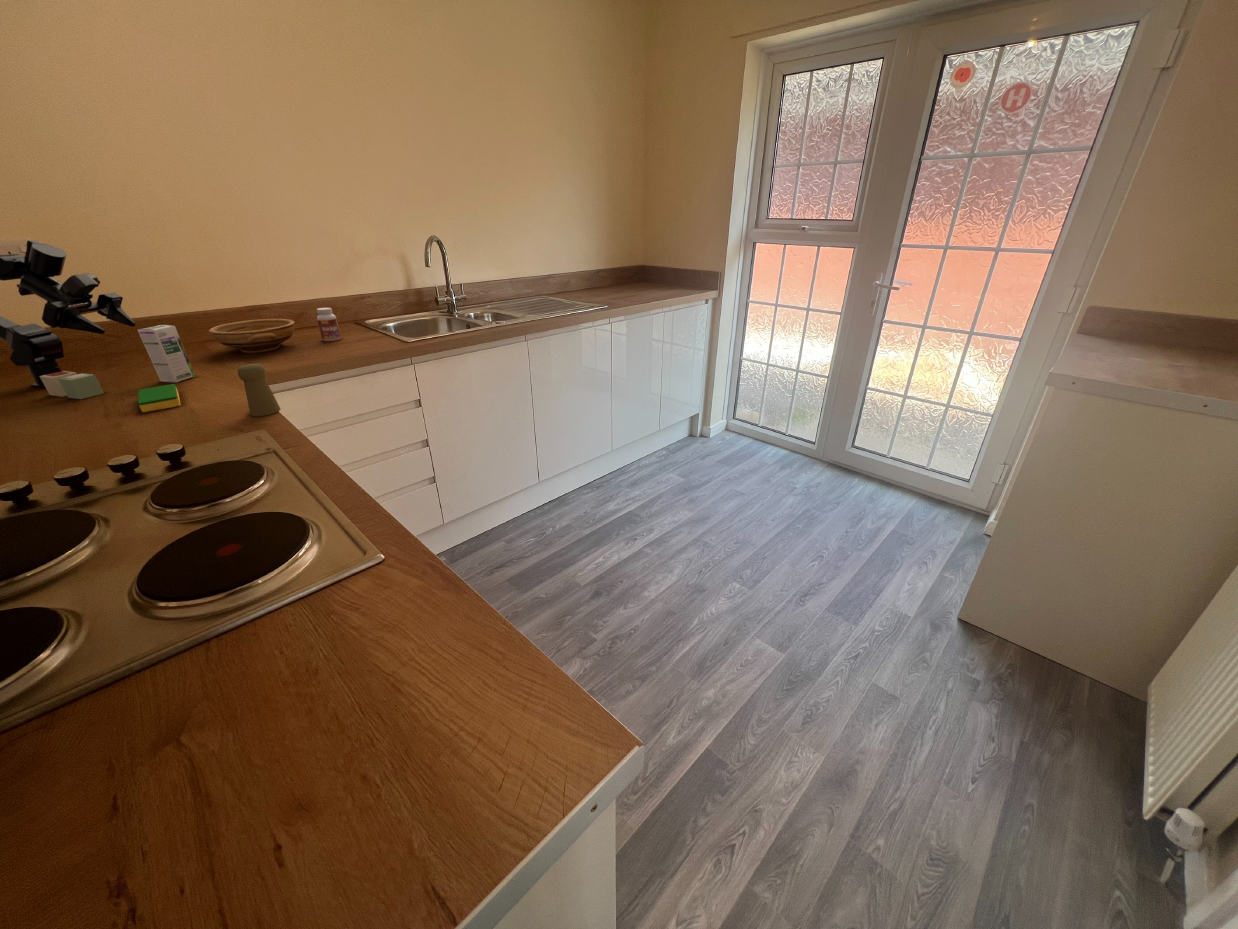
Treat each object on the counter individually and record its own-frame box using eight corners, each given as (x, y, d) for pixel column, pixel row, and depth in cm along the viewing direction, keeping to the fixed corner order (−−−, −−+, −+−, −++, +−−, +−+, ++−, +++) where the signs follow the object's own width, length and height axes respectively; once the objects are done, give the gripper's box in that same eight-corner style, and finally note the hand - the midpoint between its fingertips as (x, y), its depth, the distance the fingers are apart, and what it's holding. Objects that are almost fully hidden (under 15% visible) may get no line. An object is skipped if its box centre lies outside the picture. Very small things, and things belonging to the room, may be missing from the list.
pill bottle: (324, 342, 180) (315, 310, 175) (321, 339, 184) (312, 308, 180) (342, 339, 183) (334, 308, 178) (340, 337, 188) (332, 306, 183)
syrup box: (176, 382, 137) (154, 329, 131) (159, 381, 138) (136, 328, 132) (196, 376, 142) (175, 324, 136) (179, 375, 143) (158, 324, 137)
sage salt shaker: (248, 418, 112) (230, 370, 107) (251, 409, 117) (235, 363, 112) (279, 413, 115) (263, 366, 110) (281, 405, 120) (266, 360, 115)
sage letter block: (67, 397, 127) (57, 378, 125) (91, 391, 131) (82, 372, 129) (80, 399, 125) (70, 379, 123) (104, 393, 130) (94, 374, 127)
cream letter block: (49, 395, 129) (39, 375, 127) (73, 389, 133) (63, 370, 131) (61, 396, 128) (51, 377, 125) (85, 390, 132) (75, 371, 130)
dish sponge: (178, 392, 130) (174, 383, 128) (181, 406, 120) (177, 396, 119) (142, 398, 125) (138, 389, 124) (142, 413, 116) (137, 403, 115)
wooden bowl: (311, 349, 170) (304, 325, 166) (225, 363, 155) (215, 337, 152) (289, 336, 189) (283, 315, 186) (211, 347, 175) (202, 324, 171)
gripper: (21, 267, 116) (94, 309, 121) (94, 261, 133) (157, 298, 137) (12, 307, 120) (83, 346, 125) (85, 296, 137) (145, 330, 141)
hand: (119, 328), depth 132 cm, fingers open, 9 cm apart
